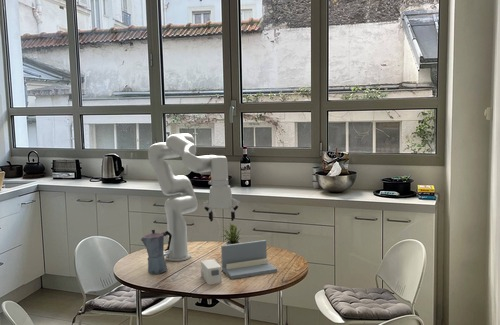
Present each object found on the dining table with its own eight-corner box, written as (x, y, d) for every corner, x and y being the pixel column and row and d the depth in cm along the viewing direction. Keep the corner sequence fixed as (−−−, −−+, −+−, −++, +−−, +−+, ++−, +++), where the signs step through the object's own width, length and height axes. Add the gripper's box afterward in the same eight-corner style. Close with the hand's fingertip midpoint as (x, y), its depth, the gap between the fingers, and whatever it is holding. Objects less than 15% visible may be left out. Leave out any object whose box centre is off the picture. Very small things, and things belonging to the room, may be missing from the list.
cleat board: (231, 279, 208) (230, 253, 206) (222, 269, 221) (221, 245, 219) (277, 271, 215) (276, 247, 214) (265, 263, 228) (265, 239, 227)
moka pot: (138, 272, 220) (136, 230, 218) (167, 264, 230) (165, 224, 228) (148, 277, 213) (145, 234, 211) (177, 269, 223) (175, 228, 220)
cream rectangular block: (209, 285, 201) (208, 269, 200) (201, 275, 213) (200, 260, 212) (222, 283, 203) (221, 267, 202) (214, 273, 215) (213, 258, 214)
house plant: (215, 251, 250) (214, 221, 248) (240, 248, 254) (239, 218, 252) (222, 259, 236) (221, 227, 235) (248, 255, 241) (247, 224, 239)
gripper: (199, 185, 210) (201, 222, 211) (238, 183, 208) (240, 221, 210) (202, 182, 217) (204, 219, 219) (240, 181, 216) (241, 218, 217)
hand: (222, 220), depth 214 cm, fingers open, 9 cm apart
